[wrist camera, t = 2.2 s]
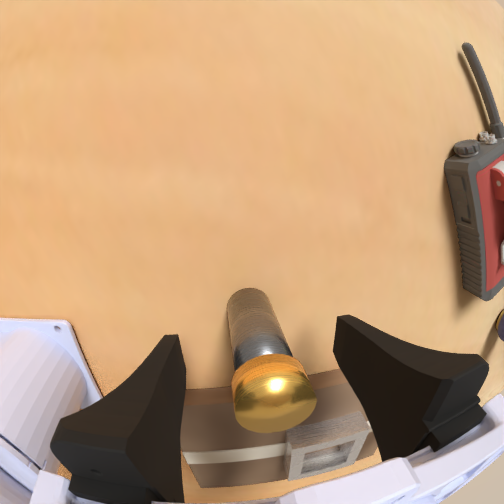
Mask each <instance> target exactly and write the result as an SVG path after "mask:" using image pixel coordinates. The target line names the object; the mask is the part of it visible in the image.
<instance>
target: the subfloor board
mask: <svg viewBox="0 0 504 504" xmlns="http://www.w3.org/2000/svg"><path fill="white" fill-rule="evenodd" d="M307 377H308V379H309V381H310V384H311V386H312V388H313V390H314V392H315V395H316V399H317V402H316V406H315V409H314V410H313V412H312V413H311V415H310V416H309V417H308V418H307V419H305V420H304V421H303V422H301V423H300V424H298V425H296V426H294V427H292V428H295V427H300V426H305V425H309V424H314V423H318V422H322V421H326V420H330V419H334V418H338V417H342V416H345V415H349V414H352V413H356V412H359V411H361V413H362V415H363V417H364V418H365V420H366V422H367V424H368V425H369V427H370V431H369V433H368V435H367V437H366V440H365V442H364V444H363V446H362V448H361V450H360V452H359V455H358V457H357V459H356V461H357V460H360V459H363V458H366V457H369V456H372V455H373V454H374V452H375V451H376V449H377V447H378V445H377V442H376V439H375V436H374V434H373V431H372V428H371V426H370V423H369V421H368V418H367V416H366V414H365V411H364V409H363V407H362V405H361V403H360V401H359V399H358V398H357V396H356V394H355V393H354V391H353V389H352V388H351V386H350V384H349V383H348V381H347V379H346V378H345V376H344V374H343V373H342V371H341V369H337V370H332V371H328V372H323V373H318V374H313V375H308V376H307ZM285 436H286V430H284V431H280V432H274V433H258V432H253V431H250V430H247V429H245V428H244V427H242V426H241V425H240V424H239V423H238V422H237V420H236V417H235V410H234V402H233V394H232V387H221V388H208V389H191V390H186V392H185V399H184V407H183V415H182V423H181V434H180V444H181V450H182V452H183V455H184V457H185V459H186V461H187V463H188V464H189V466H190V468H191V470H192V472H193V474H194V476H195V478H196V480H197V482H198V483H199V485H200V487H201V488H214V487H230V486H242V485H251V484H259V483H266V482H273V481H279V480H284V479H287V475H286V472H285V468H284V464H283V462H284V454H285ZM338 446H339V445H336V446H332V447H328V448H325V449H321V450H317V451H312V452H308V453H305V455H306V454H311V453H315V452H319V451H323V450H327V449H330V448H334V447H338Z"/></svg>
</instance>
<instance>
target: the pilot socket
mask: <svg viewBox="0 0 504 504" xmlns="http://www.w3.org/2000/svg"><path fill="white" fill-rule="evenodd" d="M369 431H370V427H369V425H368V424H367V422H366V420H365V418H364V417H363V415H362V413H361V411H359V412H356V413H352V414H349V415H345V416H342V417H338V418H334V419H330V420H326V421H322V422H318V423H314V424H309V425H305V426H300V427H295V428H290V429H287V430H286V436H285V454H284V462H283V464H284V468H285V472H286V475H287V479H288V481H291V480H296V479H301V478H305V477H310V476H314V475H318V474H322V473H325V472H329V471H333V470H336V469H339V468H343V467H346V466H349V465H352V464H354V463H355V461H356V459H357V457H358V455H359V452H360V450H361V448H362V446H363V444H364V442H365V440H366V437H367V435H368V433H369ZM336 445H339V446H338V447H334V448H330V449H327V450H323V451H319V452H315V453H311V454H306V455H305V453H308V452H312V451H317V450H321V449H325V448H328V447H332V446H336Z"/></svg>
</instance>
